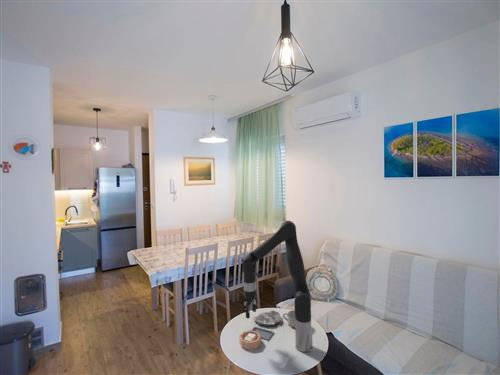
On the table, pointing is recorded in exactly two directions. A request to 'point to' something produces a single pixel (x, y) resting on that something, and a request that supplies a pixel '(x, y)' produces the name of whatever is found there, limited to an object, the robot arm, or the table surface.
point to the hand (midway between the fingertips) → (251, 314)
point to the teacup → (290, 318)
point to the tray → (263, 333)
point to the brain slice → (267, 318)
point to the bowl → (250, 344)
